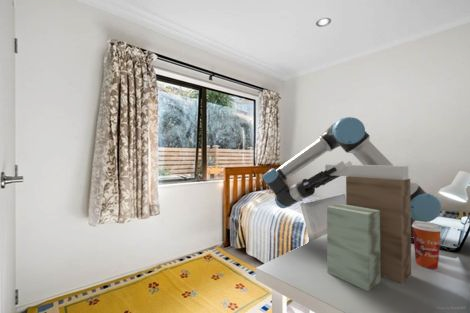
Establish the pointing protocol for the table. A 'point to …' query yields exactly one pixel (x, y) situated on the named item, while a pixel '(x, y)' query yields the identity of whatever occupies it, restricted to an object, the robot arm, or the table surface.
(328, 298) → the table surface
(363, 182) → the wooden boards
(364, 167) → the white block
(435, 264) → the paper cup
